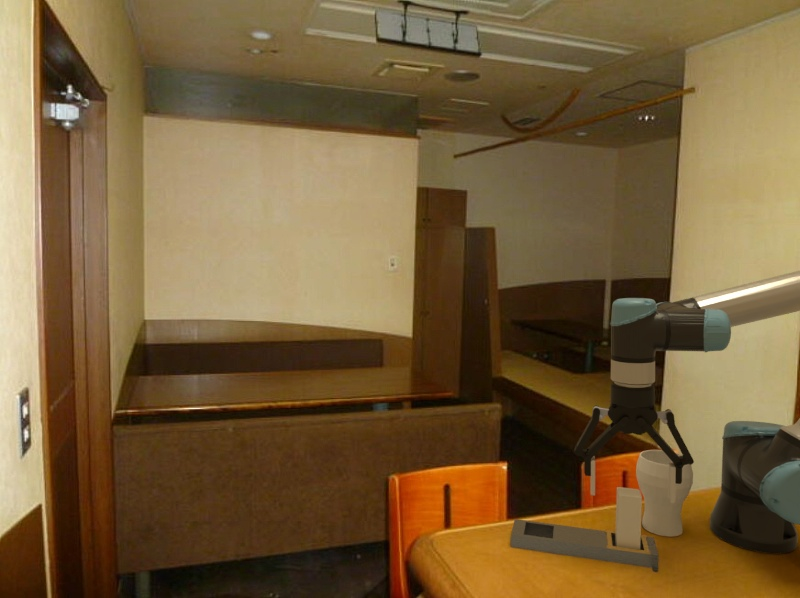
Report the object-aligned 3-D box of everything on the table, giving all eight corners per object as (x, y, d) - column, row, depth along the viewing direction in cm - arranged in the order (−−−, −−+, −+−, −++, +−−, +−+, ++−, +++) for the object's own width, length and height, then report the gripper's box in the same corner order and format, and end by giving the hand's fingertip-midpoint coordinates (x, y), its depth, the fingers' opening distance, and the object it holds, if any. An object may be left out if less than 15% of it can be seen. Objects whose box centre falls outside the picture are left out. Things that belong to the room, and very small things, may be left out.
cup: (697, 543, 114) (700, 468, 113) (640, 537, 116) (642, 464, 115) (682, 519, 124) (685, 450, 123) (630, 514, 126) (632, 447, 125)
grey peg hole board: (653, 552, 110) (653, 536, 110) (658, 571, 103) (658, 554, 103) (514, 533, 118) (514, 517, 117) (510, 549, 111) (511, 533, 111)
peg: (637, 551, 109) (639, 489, 109) (639, 561, 106) (641, 497, 105) (614, 548, 111) (616, 486, 110) (616, 558, 107) (618, 495, 106)
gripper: (704, 381, 106) (702, 494, 107) (562, 376, 113) (562, 482, 114) (713, 390, 99) (710, 512, 100) (561, 384, 106) (561, 497, 107)
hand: (631, 496), depth 107 cm, fingers open, 13 cm apart
